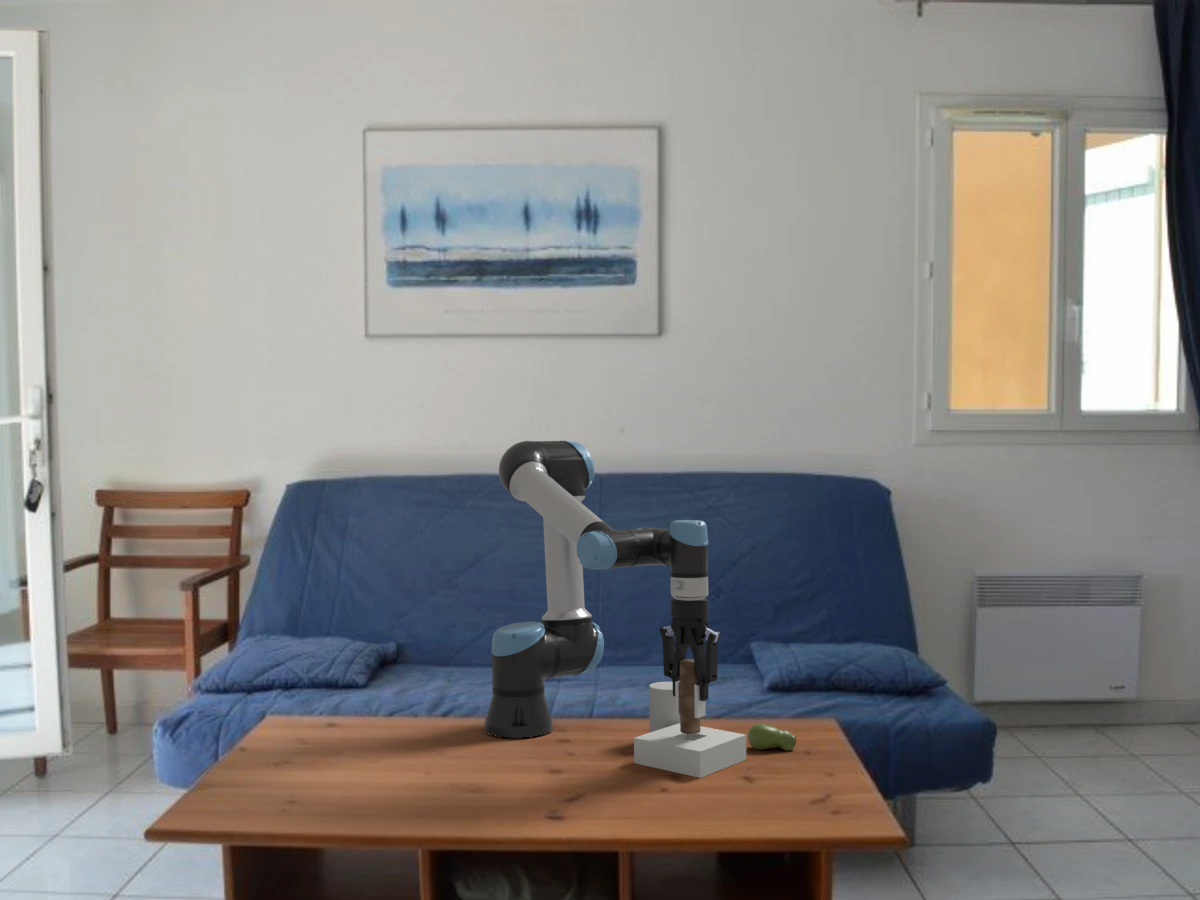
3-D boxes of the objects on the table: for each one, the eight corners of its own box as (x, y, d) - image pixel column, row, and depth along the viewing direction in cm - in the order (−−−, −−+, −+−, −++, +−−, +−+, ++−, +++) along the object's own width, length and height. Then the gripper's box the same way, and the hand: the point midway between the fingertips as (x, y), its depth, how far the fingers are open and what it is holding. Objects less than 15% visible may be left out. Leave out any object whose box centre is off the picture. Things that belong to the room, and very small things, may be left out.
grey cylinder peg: (688, 737, 237) (687, 682, 237) (687, 747, 229) (687, 689, 229) (650, 736, 237) (650, 681, 238) (648, 746, 229) (648, 689, 229)
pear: (748, 719, 230) (795, 726, 230) (744, 744, 230) (791, 751, 230) (752, 725, 224) (800, 733, 224) (748, 751, 224) (796, 758, 224)
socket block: (634, 763, 217) (633, 737, 217) (681, 746, 229) (681, 722, 229) (700, 778, 207) (700, 751, 207) (746, 759, 219) (746, 734, 219)
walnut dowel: (676, 731, 218) (675, 661, 218) (688, 727, 221) (687, 658, 221) (692, 734, 215) (692, 663, 215) (704, 730, 218) (703, 660, 218)
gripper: (644, 596, 221) (645, 712, 221) (714, 603, 210) (715, 724, 210) (666, 592, 226) (667, 705, 226) (735, 598, 216) (736, 717, 215)
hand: (690, 714), depth 218 cm, fingers closed on walnut dowel, 4 cm apart
